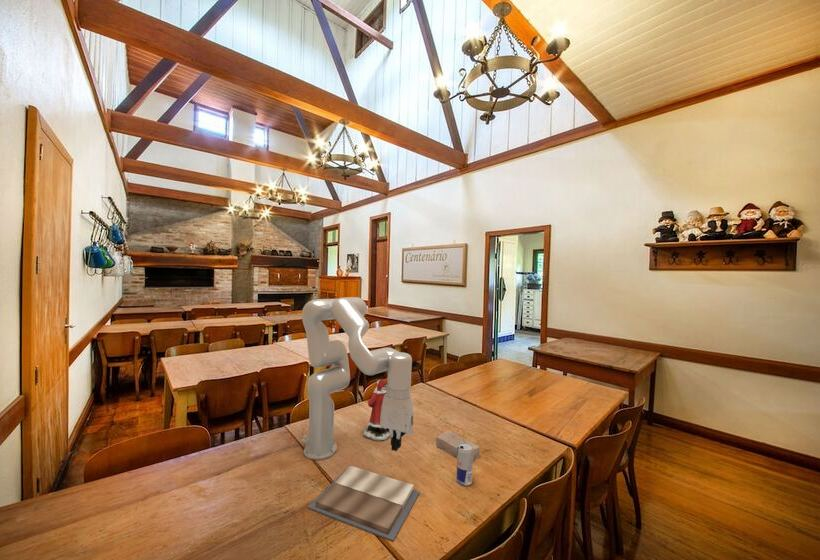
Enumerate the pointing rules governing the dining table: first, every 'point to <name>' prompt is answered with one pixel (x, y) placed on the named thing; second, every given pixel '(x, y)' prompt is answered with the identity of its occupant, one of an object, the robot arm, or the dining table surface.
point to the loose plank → (376, 485)
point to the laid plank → (360, 507)
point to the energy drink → (464, 464)
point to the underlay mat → (390, 536)
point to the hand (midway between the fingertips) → (395, 448)
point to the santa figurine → (376, 414)
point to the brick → (454, 444)
